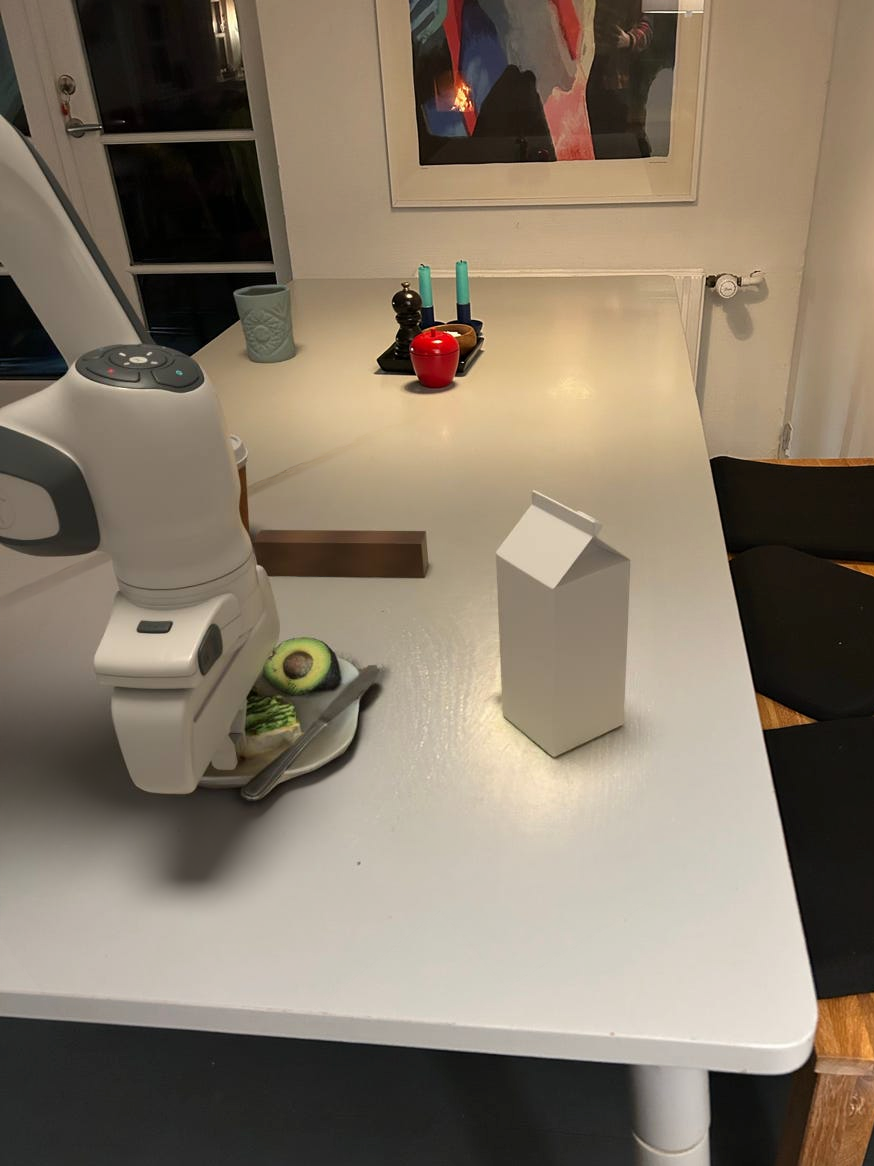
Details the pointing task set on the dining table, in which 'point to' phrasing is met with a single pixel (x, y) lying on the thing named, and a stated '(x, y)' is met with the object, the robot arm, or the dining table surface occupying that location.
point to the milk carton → (562, 627)
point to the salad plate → (295, 717)
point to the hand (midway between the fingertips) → (231, 758)
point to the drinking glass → (266, 322)
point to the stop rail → (342, 553)
